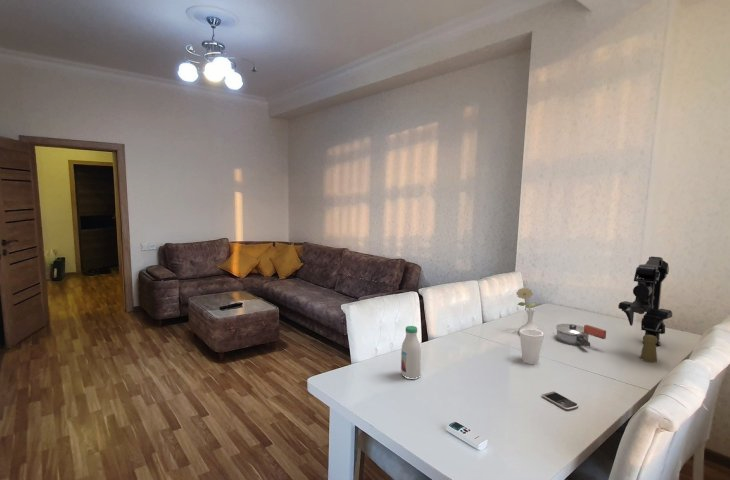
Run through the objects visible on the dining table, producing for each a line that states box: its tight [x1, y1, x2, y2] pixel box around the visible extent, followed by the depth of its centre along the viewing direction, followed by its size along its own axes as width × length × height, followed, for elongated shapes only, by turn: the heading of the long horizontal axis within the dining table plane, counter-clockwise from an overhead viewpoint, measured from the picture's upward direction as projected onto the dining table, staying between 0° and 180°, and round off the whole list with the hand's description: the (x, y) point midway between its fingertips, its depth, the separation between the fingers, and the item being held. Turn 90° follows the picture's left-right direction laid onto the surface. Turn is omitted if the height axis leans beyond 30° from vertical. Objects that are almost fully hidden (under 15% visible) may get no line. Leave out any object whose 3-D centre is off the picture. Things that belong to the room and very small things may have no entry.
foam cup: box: [519, 329, 545, 365], centre depth 166 cm, size 10×9×13 cm
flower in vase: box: [515, 287, 541, 334], centre depth 199 cm, size 13×11×25 cm
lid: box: [555, 323, 607, 340], centre depth 187 cm, size 23×15×5 cm, turn 26°
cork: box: [640, 334, 658, 363], centre depth 168 cm, size 6×6×11 cm
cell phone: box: [540, 391, 579, 412], centre depth 133 cm, size 6×11×1 cm, turn 24°
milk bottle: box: [400, 325, 422, 378], centre depth 152 cm, size 8×8×20 cm
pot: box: [556, 329, 591, 348], centre depth 189 cm, size 24×14×5 cm, turn 176°
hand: (642, 328), depth 169 cm, fingers open, 9 cm apart
